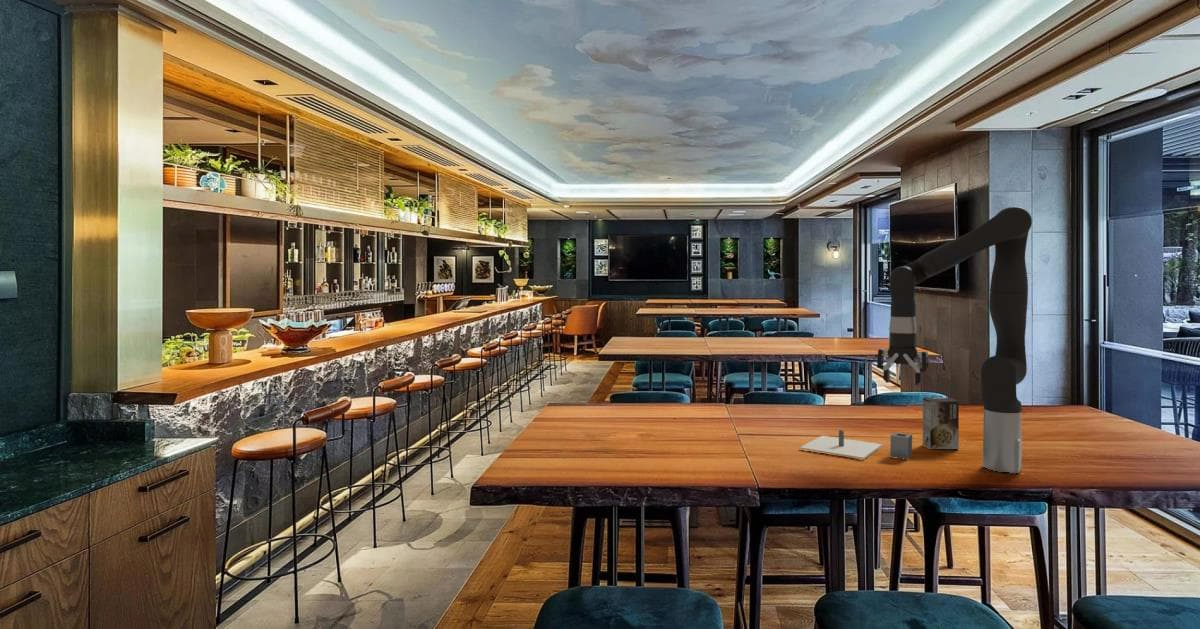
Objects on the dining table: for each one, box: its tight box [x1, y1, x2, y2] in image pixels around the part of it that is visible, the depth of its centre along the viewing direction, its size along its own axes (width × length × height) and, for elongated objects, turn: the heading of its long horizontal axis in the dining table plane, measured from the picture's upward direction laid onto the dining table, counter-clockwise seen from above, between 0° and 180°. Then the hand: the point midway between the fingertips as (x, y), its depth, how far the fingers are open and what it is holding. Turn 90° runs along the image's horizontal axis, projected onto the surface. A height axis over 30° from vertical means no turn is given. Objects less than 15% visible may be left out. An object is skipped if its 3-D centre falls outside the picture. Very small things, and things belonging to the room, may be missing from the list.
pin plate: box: [799, 429, 883, 460], centre depth 207 cm, size 20×20×6 cm
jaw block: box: [889, 432, 913, 459], centre depth 196 cm, size 5×5×7 cm
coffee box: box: [922, 397, 960, 449], centre depth 207 cm, size 9×6×16 cm
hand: (902, 383), depth 196 cm, fingers open, 8 cm apart
